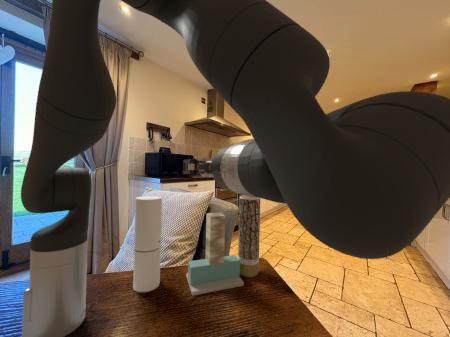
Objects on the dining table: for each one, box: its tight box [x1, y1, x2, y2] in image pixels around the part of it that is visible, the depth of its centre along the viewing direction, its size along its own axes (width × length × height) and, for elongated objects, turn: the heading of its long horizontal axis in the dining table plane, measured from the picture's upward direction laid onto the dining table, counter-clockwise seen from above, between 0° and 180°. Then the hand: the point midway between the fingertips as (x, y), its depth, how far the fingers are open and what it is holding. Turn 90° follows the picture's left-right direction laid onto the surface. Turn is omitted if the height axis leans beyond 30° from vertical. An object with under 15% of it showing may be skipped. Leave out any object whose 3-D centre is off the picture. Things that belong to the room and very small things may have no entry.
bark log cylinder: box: [237, 195, 261, 278], centre depth 65 cm, size 7×7×25 cm
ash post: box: [204, 212, 226, 265], centre depth 59 cm, size 4×4×14 cm
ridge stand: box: [185, 254, 245, 296], centre depth 59 cm, size 15×10×6 cm, turn 110°
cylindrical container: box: [132, 195, 163, 293], centre depth 57 cm, size 7×7×25 cm
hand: (213, 167), depth 43 cm, fingers open, 8 cm apart
